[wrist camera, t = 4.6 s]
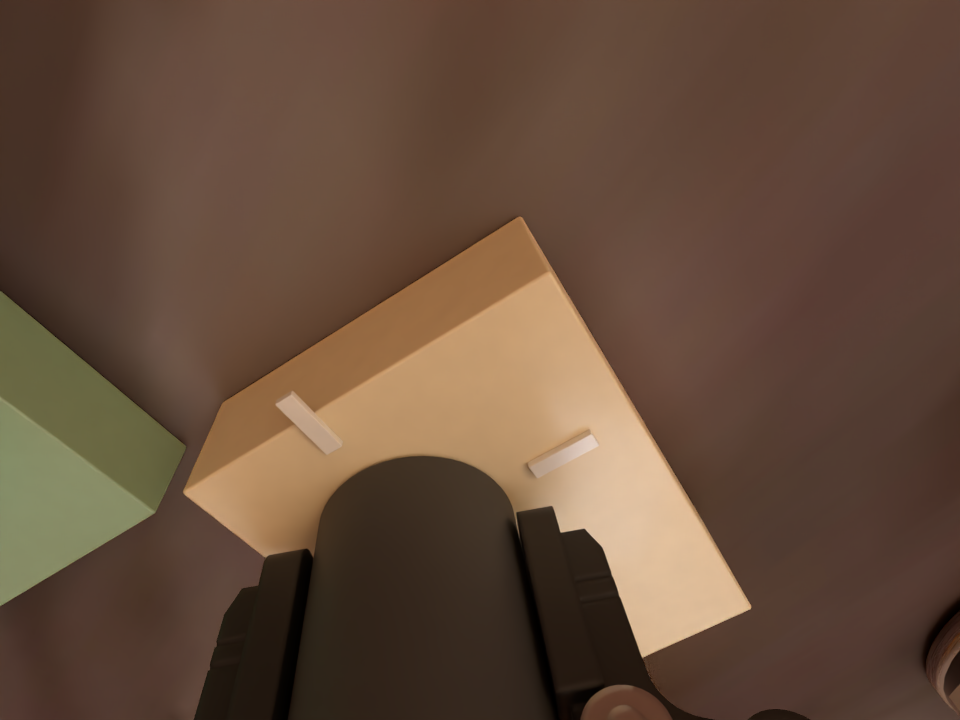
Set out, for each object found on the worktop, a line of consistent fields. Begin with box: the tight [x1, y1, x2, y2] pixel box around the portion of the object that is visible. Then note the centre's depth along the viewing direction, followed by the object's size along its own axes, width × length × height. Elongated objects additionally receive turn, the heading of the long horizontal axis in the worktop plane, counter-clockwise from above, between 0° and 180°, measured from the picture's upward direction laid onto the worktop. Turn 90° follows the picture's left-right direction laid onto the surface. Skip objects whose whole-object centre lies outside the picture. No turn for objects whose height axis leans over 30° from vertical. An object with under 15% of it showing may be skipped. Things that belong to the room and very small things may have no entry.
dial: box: [288, 456, 558, 720], centre depth 10 cm, size 4×4×5 cm
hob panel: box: [183, 217, 751, 657], centre depth 14 cm, size 12×9×3 cm
